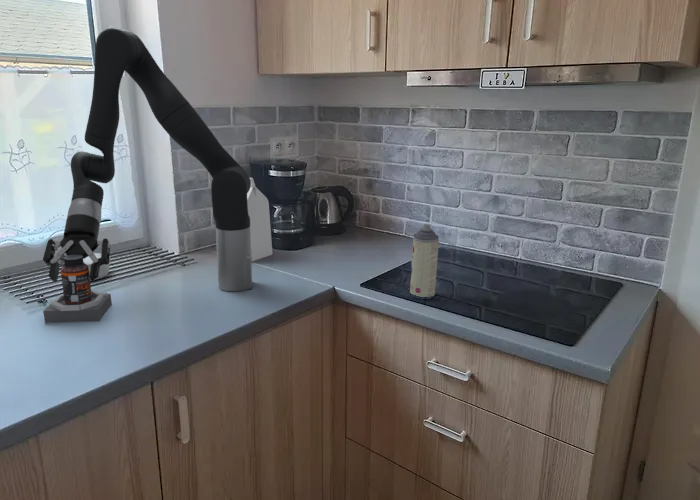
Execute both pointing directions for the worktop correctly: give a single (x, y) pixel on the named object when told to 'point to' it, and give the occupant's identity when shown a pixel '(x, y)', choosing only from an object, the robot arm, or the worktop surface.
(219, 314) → the worktop surface
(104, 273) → the ramekin
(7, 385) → the worktop surface
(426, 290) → the aerosol can
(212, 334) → the worktop surface
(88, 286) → the supplement bottle
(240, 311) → the worktop surface
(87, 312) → the octagonal shallow tray
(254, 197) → the milk
